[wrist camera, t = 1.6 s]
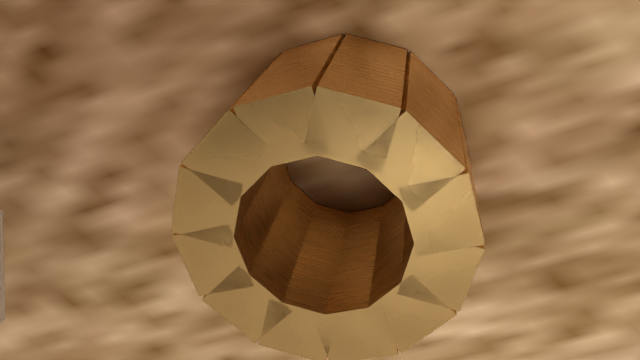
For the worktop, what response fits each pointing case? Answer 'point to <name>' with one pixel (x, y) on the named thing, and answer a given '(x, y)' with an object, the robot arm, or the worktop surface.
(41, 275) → the worktop surface
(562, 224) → the worktop surface
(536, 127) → the worktop surface
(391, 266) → the ring
